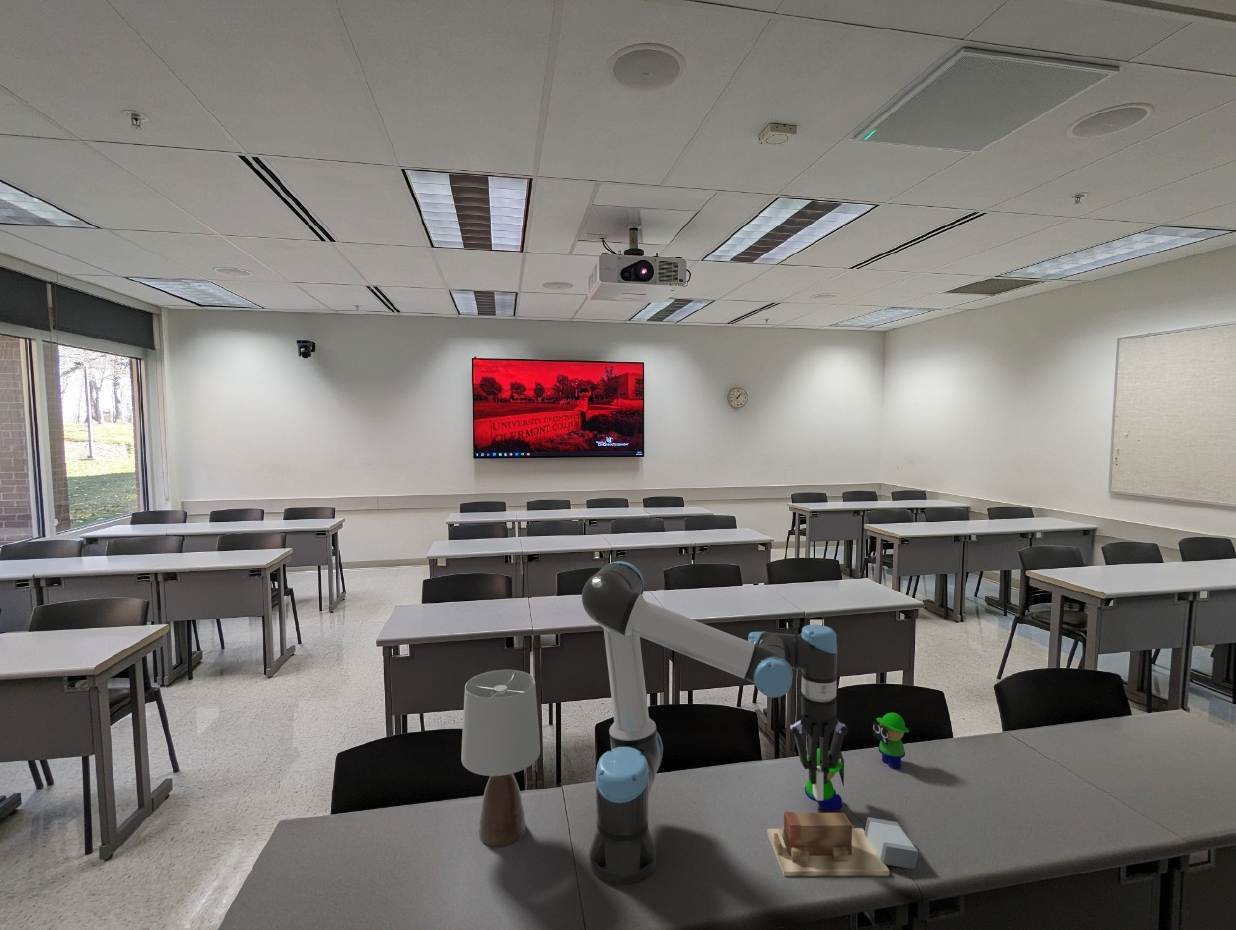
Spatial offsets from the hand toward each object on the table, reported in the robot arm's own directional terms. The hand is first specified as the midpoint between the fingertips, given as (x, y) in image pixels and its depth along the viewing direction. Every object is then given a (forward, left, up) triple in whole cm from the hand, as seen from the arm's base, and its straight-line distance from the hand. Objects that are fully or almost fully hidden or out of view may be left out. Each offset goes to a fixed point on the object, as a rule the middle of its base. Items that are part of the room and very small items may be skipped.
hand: (817, 796), depth 135 cm
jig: (+2, 0, -14) cm, 14 cm away
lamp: (-74, +8, -14) cm, 75 cm away
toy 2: (+34, +37, -14) cm, 52 cm away
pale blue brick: (+13, 0, -10) cm, 17 cm away
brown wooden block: (0, 0, -12) cm, 12 cm away
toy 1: (+7, +18, -14) cm, 24 cm away
